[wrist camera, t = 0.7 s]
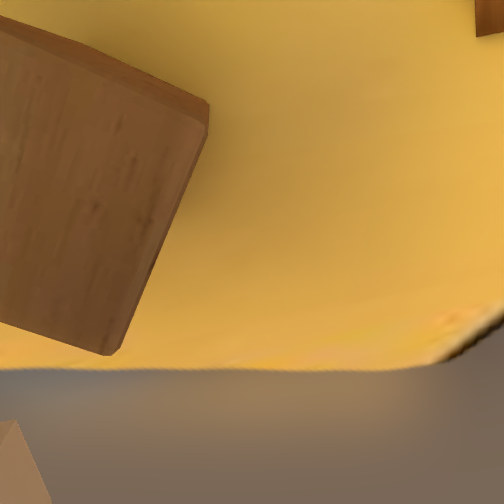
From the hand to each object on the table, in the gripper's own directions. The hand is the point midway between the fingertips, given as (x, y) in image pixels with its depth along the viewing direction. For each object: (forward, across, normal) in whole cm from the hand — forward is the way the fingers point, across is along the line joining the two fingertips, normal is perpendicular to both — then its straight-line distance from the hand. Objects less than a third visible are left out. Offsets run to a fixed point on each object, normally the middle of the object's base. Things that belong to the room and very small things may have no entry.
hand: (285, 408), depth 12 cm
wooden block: (+27, -7, +5) cm, 28 cm away
